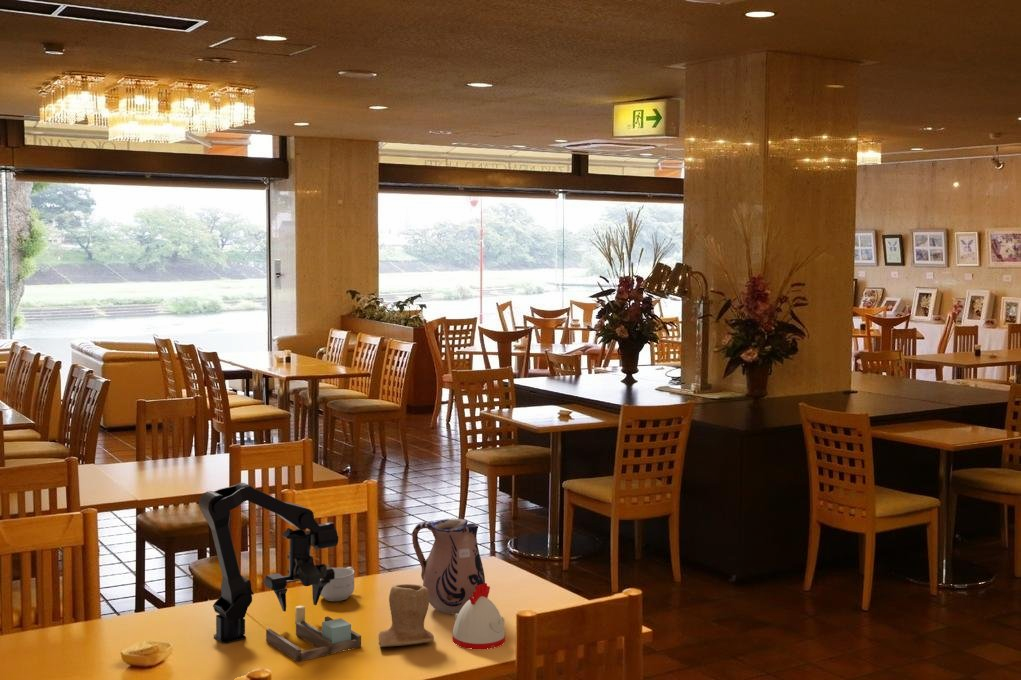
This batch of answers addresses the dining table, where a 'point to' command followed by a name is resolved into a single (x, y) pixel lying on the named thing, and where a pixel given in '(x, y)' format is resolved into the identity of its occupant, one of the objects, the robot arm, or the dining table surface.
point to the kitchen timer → (479, 622)
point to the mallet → (327, 627)
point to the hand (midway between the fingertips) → (299, 608)
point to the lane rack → (313, 638)
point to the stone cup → (407, 616)
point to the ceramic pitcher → (450, 563)
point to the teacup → (339, 585)
